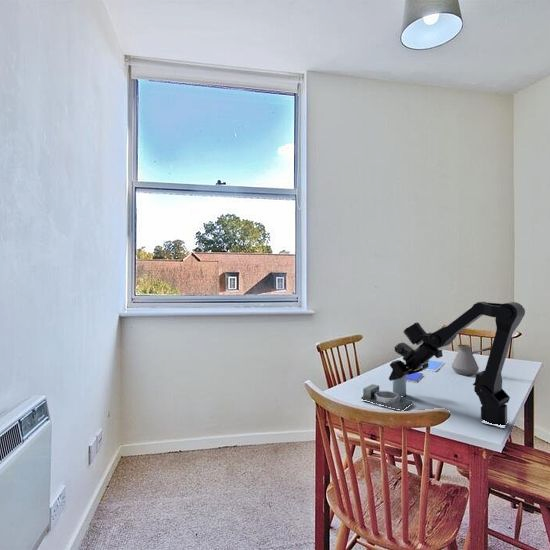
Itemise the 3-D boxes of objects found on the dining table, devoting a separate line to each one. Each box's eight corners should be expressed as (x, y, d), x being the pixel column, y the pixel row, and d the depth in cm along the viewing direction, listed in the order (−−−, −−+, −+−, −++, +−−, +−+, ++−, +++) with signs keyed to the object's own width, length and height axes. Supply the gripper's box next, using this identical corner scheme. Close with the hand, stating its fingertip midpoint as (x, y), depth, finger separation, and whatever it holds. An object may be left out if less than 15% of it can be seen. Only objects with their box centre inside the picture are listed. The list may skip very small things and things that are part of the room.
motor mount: (412, 404, 132) (412, 392, 132) (402, 411, 126) (402, 399, 126) (372, 394, 143) (372, 383, 143) (361, 400, 137) (361, 389, 137)
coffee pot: (449, 373, 170) (448, 342, 169) (454, 368, 179) (453, 338, 179) (502, 381, 157) (502, 347, 157) (505, 375, 166) (504, 342, 166)
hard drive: (404, 370, 173) (397, 377, 162) (422, 373, 168) (416, 380, 158) (404, 374, 173) (397, 381, 162) (423, 376, 168) (416, 383, 158)
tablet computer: (419, 361, 196) (419, 358, 196) (444, 364, 188) (444, 361, 188) (409, 369, 180) (409, 366, 180) (436, 373, 173) (436, 370, 173)
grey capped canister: (408, 394, 143) (407, 361, 143) (402, 398, 139) (402, 364, 139) (396, 391, 146) (395, 359, 146) (390, 395, 143) (390, 362, 142)
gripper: (421, 334, 145) (396, 356, 154) (394, 340, 133) (369, 364, 142) (440, 357, 139) (414, 379, 148) (414, 366, 127) (387, 389, 136)
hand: (396, 377), depth 144 cm, fingers open, 9 cm apart
